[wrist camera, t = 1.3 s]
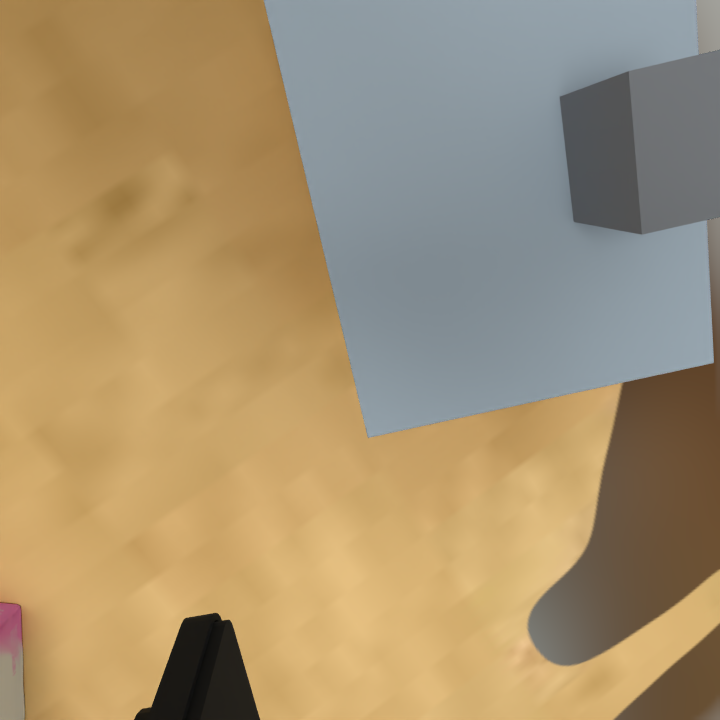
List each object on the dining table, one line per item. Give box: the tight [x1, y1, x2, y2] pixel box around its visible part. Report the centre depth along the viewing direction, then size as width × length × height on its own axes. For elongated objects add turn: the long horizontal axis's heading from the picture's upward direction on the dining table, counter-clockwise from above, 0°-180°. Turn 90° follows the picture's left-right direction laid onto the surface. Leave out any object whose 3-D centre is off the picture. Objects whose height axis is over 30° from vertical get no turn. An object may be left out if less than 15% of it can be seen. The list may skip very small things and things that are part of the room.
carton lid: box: [264, 0, 720, 438], centre depth 22 cm, size 20×16×7 cm
